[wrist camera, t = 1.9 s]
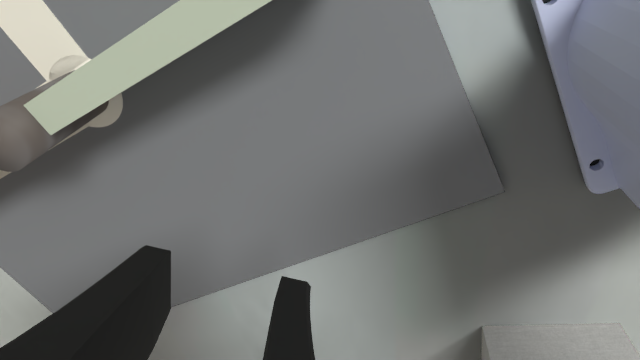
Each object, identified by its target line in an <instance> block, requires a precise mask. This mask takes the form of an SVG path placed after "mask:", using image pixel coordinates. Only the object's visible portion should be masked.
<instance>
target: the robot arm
mask: <svg viewBox="0 0 640 360" xmlns="http://www.w3.org/2000/svg"><path fill="white" fill-rule="evenodd" d="M531 2H532V6H533V9H534V12H535V16H536V19H537V22H538V26H539V29H540V33H541V36H542V39H543V43H544V46H545V50H546V53H547V56H548V60H549V63H550V66H551V70H552V73H553V77H554V80H555V83H556V87H557V90H558V93H559V97H560V100H561V104H562V107H563V110H564V114H565V117H566V121H567V124H568V127H569V131H570V134H571V137H572V141H573V144H574V148H575V151H576V154H577V158H578V161H579V164H580V168H581V171H582V175H583V178H584V181H585V185H586V186H587V188H588V189H589V190H590V191H591V192H592V193H594V194H602V193H606V192H610V191H613V190H616V189H619V188H621V189H622V190H623V191H624V192H625V194H626V195H627V196H628V197H629V198H630V199H631V200H632V201H633V202H634V204H635V205H636V206H637V207H638V208H639V209H640V0H551V1H550V2H549V3H543V2H542V0H531ZM596 159H600V161H599V162H598V163H597V164H596V165H593V166H590V163H591V162H592V161H594V160H596ZM310 289H311V286H310V285H309V284H308V282H305V281H301V280H296V279H292V278H288V277H283V276H282V278H281V281H280V284H279V288H278V291H277V294H276V298H275V301H274V306H273V311H272V316H271V321H270V326H269V331H268V336H267V341H266V346H265V352H264V357H263V360H315V356H314V350H313V342H312V333H311V321H310ZM170 309H171V251H170V250H165V249H161V248H157V247H152V246H148V245H145V246H143V247H142V248H140V249H139V250H138V251H136V252H135V253H134V254H133V255H131V256H130V257H129V258H127V259H126V260H125V261H124V262H122V263H121V264H120V265H118V266H117V267H116V268H115V269H113V270H112V271H111V272H109V273H108V274H107V275H105V276H104V277H103V278H101V279H100V280H99V281H97V282H96V283H95V284H93V285H92V286H91V287H89V288H88V289H87V290H85V291H84V292H82V293H81V294H80V295H78V296H77V297H76V298H74V299H73V300H71V301H70V302H69V303H67V304H66V305H64V306H63V307H62V308H60V309H59V310H57V311H56V312H55V313H53V314H52V315H50V316H49V317H47V318H46V319H44V320H43V321H41V322H40V323H38V324H37V325H35V326H34V327H32V328H31V329H29V330H28V331H26V332H25V333H23V334H22V335H20V336H19V337H17V338H16V339H14V340H12V341H11V342H9V343H8V344H6V345H4V346H3V347H1V348H0V360H147V359H148V357H149V356H150V354H151V352H152V350H153V348H154V346H155V344H156V342H157V339H158V337H159V335H160V333H161V331H162V328H163V326H164V323H165V321H166V319H167V316H168V314H169V312H170Z"/></svg>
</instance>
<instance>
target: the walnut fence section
mask: <svg viewBox="0 0 640 360" xmlns="http://www.w3.org/2000/svg"><path fill="white" fill-rule="evenodd" d="M74 71H75V70H73V71H71V72H69V73H67V74H64V75H62V76H60V77H58V78H56V79H54V80H52V81H50V82H48V83H46V84H44V85H42V86H40V87H38V88H36V89H34V90H32V91H30V92H28V93H26V94H24V95H22V96H20V97H18V98H16V99H14V100H12V101H10V102H8V103H6V104H4V105H2V106H0V170H2V171H7V172H14V171H18V170H21V169H22V168H24V167H25V166H26V165H28V164H29V163H31V162H32V161H34V160H35V159H36V158H38V157H39V156H41V155H42V154H44V153H45V152H46V151H48V150H49V149H51V148H52V147H54V146H55V145H57V144H58V143H59V142H61V141H62V140H64V139H65V138H67V137H68V136H69V135H71V134H72V133H74V132H75V131H77V130H78V129H79V128H81V127H82V126H84V125H85V124H87V123H88V122H89V121H91V120H92V119H94V118H95V117H97V116H98V115H100V114H101V113H102V112H104V111H105V110H106V108H107V106H108V103H109V100H108V101H106V102H105V103H103V104H101V105H100V106H98V107H96V108H95V109H93V110H92V111H90V112H88V113H87V114H85V115H83V116H82V117H80V118H78V119H77V120H75V121H74V122H72V123H70V124H69V125H67V126H65V127H64V128H62V129H60V130H59V131H57V132H56V133H54V134H52V135H50V134H49V133H48V132H47V131H46V130H45V129H44V128H43V126H42V125H41V124H40V123H39V122H38V121H37V120H36V119H35V118H34V117H33V115H32V114H31V113H30V112H29V111H28V110H27V109H26V108H25V107H24V106H23V105H25V104H26V103H28V102H29V101H30V100H32V99H33V98H35V97H36V96H38V95H39V94H41V93H42V92H44V91H45V90H47V89H48V88H50V87H51V86H53V85H54V84H56V83H57V82H59V81H60V80H62V79H63V78H65V77H66V76H68V75H69V74H71V73H72V72H74Z"/></svg>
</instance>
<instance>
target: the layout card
mask: <svg viewBox="0 0 640 360" xmlns="http://www.w3.org/2000/svg"><path fill="white" fill-rule="evenodd" d="M178 1H180V0H0V106H2V105H4V104H6V103H8V102H10V101H12V100H14V99H16V98H18V97H20V96H22V95H24V94H26V93H28V92H30V91H32V90H34V89H36V88H38V87H40V86H42V85H44V84H46V83H48V82H50V81H52V80H54V79H56V78H58V77H60V76H62V75H64V74H67V73H69V72H71V71H73V70H77V69H78V68H80V67H81V66H83V65H84V64H86V63H87V62H89V61H90V60H92V59H93V58H95V57H96V56H98V55H99V54H101V53H102V52H104V51H105V50H107V49H108V48H110V47H111V46H112V45H114V44H115V43H117V42H118V41H120V40H121V39H123V38H124V37H126V36H127V35H129V34H130V33H132V32H133V31H135V30H136V29H138V28H139V27H141V26H142V25H144V24H145V23H147V22H148V21H150V20H151V19H153V18H154V17H156V16H157V15H159V14H160V13H162V12H163V11H165V10H166V9H168V8H169V7H171V6H172V5H174V4H175V3H177V2H178ZM503 192H505V191H504V188H503V186H502V183H501V181H500V178H499V176H498V173H497V171H496V168H495V166H494V163H493V161H492V158H491V156H490V153H489V151H488V148H487V146H486V143H485V141H484V138H483V136H482V133H481V131H480V128H479V126H478V123H477V121H476V118H475V116H474V113H473V111H472V108H471V106H470V103H469V101H468V98H467V96H466V93H465V91H464V88H463V86H462V83H461V81H460V78H459V76H458V73H457V71H456V68H455V66H454V63H453V60H452V58H451V55H450V53H449V50H448V48H447V45H446V43H445V40H444V38H443V35H442V33H441V30H440V28H439V25H438V23H437V20H436V18H435V15H434V13H433V10H432V8H431V5H430V3H429V0H272V1H270V2H268V3H267V4H265V5H264V6H262V7H260V8H259V9H257V10H255V11H254V12H252V13H250V14H249V15H247V16H246V17H244V18H242V19H241V20H239V21H237V22H236V23H234V24H232V25H231V26H229V27H228V28H226V29H224V30H223V31H221V32H219V33H218V34H216V35H214V36H213V37H211V38H210V39H208V40H206V41H205V42H203V43H201V44H200V45H198V46H196V47H195V48H193V49H191V50H190V51H188V52H187V53H185V54H183V55H182V56H180V57H178V58H177V59H175V60H173V61H172V62H170V63H169V64H167V65H165V66H164V67H162V68H160V69H159V70H157V71H155V72H154V73H152V74H151V75H149V76H147V77H146V78H144V79H142V80H141V81H139V82H137V83H136V84H134V85H133V86H131V87H129V88H128V89H126V90H124V91H123V92H121V93H119V94H118V95H116V96H114V97H113V98H111V99H110V100H109V103H108V106H107V108H106V110H105V111H104V112H102V113H101V114H100V115H98V116H97V117H95V118H94V119H92V120H91V121H89V122H88V123H87V124H85V125H84V126H82V127H81V128H79V129H78V130H77V131H75V132H74V133H72V134H71V135H69V136H68V137H67V138H65V139H64V140H62V141H61V142H59V143H58V144H57V145H55V146H54V147H52V148H51V149H49V150H48V151H46V152H45V153H44V154H42V155H41V156H39V157H38V158H36V159H35V160H34V161H32V162H31V163H29V164H28V165H26V166H25V167H24V168H22V169H21V170H18V171H14V172H7V171H2V170H0V268H2V269H3V270H4V271H5V272H6V273H7V274H8V275H10V276H11V277H12V278H13V279H14V280H15V281H16V282H18V283H19V284H20V285H21V286H22V287H23V288H24V289H26V290H27V291H28V292H29V293H30V294H31V295H33V296H34V297H35V298H36V299H37V300H38V301H39V302H41V303H42V304H43V305H44V306H45V307H46V308H47V309H49V310H50V311H51V312H52V313H55V312H56V311H57V310H59V309H60V308H62V307H63V306H64V305H66V304H67V303H69V302H70V301H71V300H73V299H74V298H76V297H77V296H78V295H80V294H81V293H82V292H84V291H85V290H87V289H88V288H89V287H91V286H92V285H93V284H95V283H96V282H97V281H99V280H100V279H101V278H103V277H104V276H105V275H107V274H108V273H109V272H111V271H112V270H113V269H115V268H116V267H117V266H118V265H120V264H121V263H122V262H124V261H125V260H126V259H127V258H129V257H130V256H131V255H133V254H134V253H135V252H136V251H138V250H139V249H140V248H142V247H143V246H145V245H148V246H152V247H157V248H161V249H165V250H170V251H171V307H173V306H176V305H179V304H182V303H185V302H188V301H190V300H193V299H196V298H199V297H202V296H205V295H208V294H211V293H214V292H217V291H219V290H222V289H225V288H228V287H231V286H234V285H237V284H240V283H243V282H246V281H248V280H251V279H254V278H257V277H260V276H263V275H266V274H269V273H272V272H274V271H277V270H280V269H283V268H286V267H289V266H292V265H295V264H298V263H301V262H303V261H306V260H309V259H312V258H315V257H318V256H321V255H324V254H327V253H330V252H332V251H335V250H338V249H341V248H344V247H347V246H350V245H353V244H356V243H358V242H361V241H364V240H367V239H370V238H373V237H376V236H379V235H382V234H385V233H387V232H390V231H393V230H396V229H399V228H402V227H405V226H408V225H411V224H414V223H416V222H419V221H422V220H425V219H428V218H431V217H434V216H437V215H440V214H443V213H445V212H448V211H451V210H454V209H457V208H460V207H463V206H466V205H469V204H471V203H474V202H477V201H480V200H483V199H486V198H489V197H492V196H495V195H498V194H500V193H503Z"/></svg>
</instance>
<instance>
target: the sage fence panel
mask: <svg viewBox="0 0 640 360" xmlns="http://www.w3.org/2000/svg"><path fill="white" fill-rule="evenodd" d="M270 1H272V0H180V1H178V2H177V3H175V4H174V5H172V6H171V7H169V8H168V9H166V10H165V11H163V12H162V13H160V14H159V15H157V16H156V17H154V18H153V19H151V20H150V21H148V22H147V23H145V24H144V25H142V26H141V27H139V28H138V29H136V30H135V31H133V32H132V33H130V34H129V35H127V36H126V37H124V38H123V39H121V40H120V41H118V42H117V43H115V44H114V45H112V46H111V47H110V48H108V49H107V50H105V51H104V52H102V53H101V54H99V55H98V56H96V57H95V58H93V59H92V60H90V61H89V62H87V63H86V64H84V65H83V66H81V67H80V68H78V69H77V70H75V71H74V72H72V73H71V74H69V75H68V76H66V77H65V78H63V79H62V80H60V81H59V82H57V83H56V84H54V85H53V86H51V87H50V88H48V89H47V90H45V91H44V92H42V93H41V94H39V95H38V96H36V97H35V98H33V99H32V100H30V101H29V102H28V103H26V104H25V105H23V106H24V107H25V108H26V109H27V110H28V111H29V112H30V113H31V114H32V115H33V117H34V118H35V119H36V120H37V121H38V122H39V123H40V124H41V125H42V126H43V128H44V129H45V130H46V131H47V132H48V133H49V134H50V135H52V134H54V133H56V132H57V131H59V130H60V129H62V128H64V127H65V126H67V125H69V124H70V123H72V122H74V121H75V120H77V119H78V118H80V117H82V116H83V115H85V114H87V113H88V112H90V111H92V110H93V109H95V108H96V107H98V106H100V105H101V104H103V103H105V102H106V101H108V100H110V99H111V98H113V97H114V96H116V95H118V94H119V93H121V92H123V91H124V90H126V89H128V88H129V87H131V86H133V85H134V84H136V83H137V82H139V81H141V80H142V79H144V78H146V77H147V76H149V75H151V74H152V73H154V72H155V71H157V70H159V69H160V68H162V67H164V66H165V65H167V64H169V63H170V62H172V61H173V60H175V59H177V58H178V57H180V56H182V55H183V54H185V53H187V52H188V51H190V50H191V49H193V48H195V47H196V46H198V45H200V44H201V43H203V42H205V41H206V40H208V39H210V38H211V37H213V36H214V35H216V34H218V33H219V32H221V31H223V30H224V29H226V28H228V27H229V26H231V25H232V24H234V23H236V22H237V21H239V20H241V19H242V18H244V17H246V16H247V15H249V14H250V13H252V12H254V11H255V10H257V9H259V8H260V7H262V6H264V5H265V4H267V3H268V2H270Z"/></svg>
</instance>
